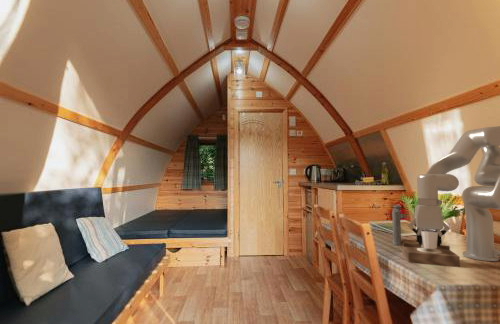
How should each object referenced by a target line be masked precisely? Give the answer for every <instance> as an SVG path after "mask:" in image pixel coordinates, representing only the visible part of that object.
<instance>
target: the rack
mask: <svg viewBox="0 0 500 324" xmlns="http://www.w3.org/2000/svg"><path fill="white" fill-rule="evenodd" d="M402 255H403V257H404V258H405V260H406V261H407V262H408V263H413V264H414V263H415V264H425V265H433V266H434V265H436V266H446V267H458V268H460V267H461V263H460V261H461V258H460V255H458V254H456V253H455V252H453V251H452V250H451V247H450V245H445V244H444V245H443V244H440V246H438V245H437V248H436V249H429V248H424V247H421V245H419V244H418V242H404V241H403V242H402Z"/></svg>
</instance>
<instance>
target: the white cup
mask: <svg viewBox="0 0 500 324" xmlns="http://www.w3.org/2000/svg"><path fill="white" fill-rule="evenodd" d="M420 234H421V236H422V245H421V247H424V248H429V249H436V248H437V240H438V232H437V231H435V230H428V229H422V231H421V233H420Z"/></svg>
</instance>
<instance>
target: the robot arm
mask: <svg viewBox="0 0 500 324" xmlns="http://www.w3.org/2000/svg"><path fill="white" fill-rule="evenodd" d="M479 150H481V153H482V156H481V160H480V161H479V165H478V167H477V169H476V172H475V175H474V178H473V179H474V181H475V184H477V185H474V186H473V185H472V186H468V187H466V188H465V189H464V190H463V191H462V194H461V200H462V203H463V206H464V213H465V233H466V234H465V237H466V239H465V240H466V250H465V251H464V250H463V251H462V255H463V257H466V258H468V259H472V260H476V261H477V260H478V261H483V262H484V261H485V262H498V261H500V249H497V248H495V238H494V237H495V236H494V235H495V234H494V218H493V214H492V213H491V211H490V210H500V126H499V125H498V126H486V127H481V128H476V129H470V130H467V131H464V133H463V134H461V136H460V138H459V139H458V141H457V142H456V144H455V145H454V146H453V148H452V149H451V150H450V151H449V152H448V154H447V155H444V156H442V158H440V159H438V161H436V162H434V163H433V164H432V165H431V166H430V167H429V168H428V170H427V171H425V173H424V174H419V175H417V176H416V183H417V184H416V187H417V188H416V190H417V193H416V194H417V204H416V205H415V206H414V215H413V220H412V221H411V222H410V223H408V224H407V226H408V228H409V229H410V230H411V231H412V232H414V234H415V235H416V243H418V244H419V245H422V236H421V234H420V233H421V231H422V229H427V230H434V231H437V232H438V240H437V245H438V246H440V245H443V244H442V242H443V241H442V237H443V236H444V235H445V234H446V233H447V232H448V231H449V230H451V227H450V226H448V224H446V222H444V219H443V214H442V213H443V212H442V209H441V206H440V204H441V205H442V204H443V200H440V199H439V192H452V191H455V190H456V189H458V187H459V186H460V182H459V179H458V177H456V176H455V175H454V174H450V172H452V171H455V170H457V169H460V168H463V167H465V166H467V165H469V164H470V163H471V162H472V160H473V159H474V157H475V156H476V154H477V153H478V151H479Z"/></svg>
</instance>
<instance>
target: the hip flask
mask: <svg viewBox="0 0 500 324" xmlns="http://www.w3.org/2000/svg"><path fill="white" fill-rule="evenodd" d="M392 207H393V208H392V211H391V214H392V215H391V216H392V245H394V246H400V245H401V244H402V235H401V234H402V233H401V232H402V230H401V229H402V228H401V227H402V226H401V205H392Z"/></svg>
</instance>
